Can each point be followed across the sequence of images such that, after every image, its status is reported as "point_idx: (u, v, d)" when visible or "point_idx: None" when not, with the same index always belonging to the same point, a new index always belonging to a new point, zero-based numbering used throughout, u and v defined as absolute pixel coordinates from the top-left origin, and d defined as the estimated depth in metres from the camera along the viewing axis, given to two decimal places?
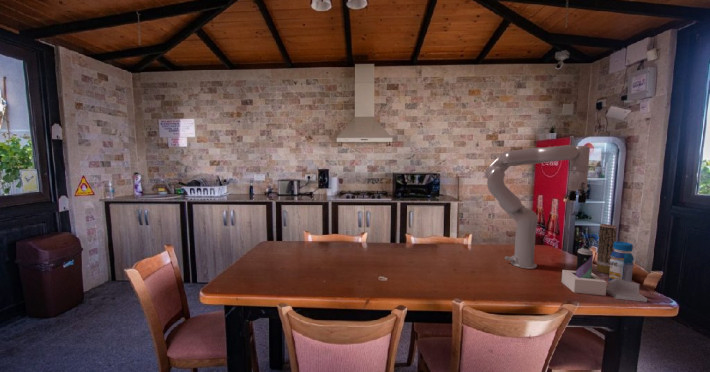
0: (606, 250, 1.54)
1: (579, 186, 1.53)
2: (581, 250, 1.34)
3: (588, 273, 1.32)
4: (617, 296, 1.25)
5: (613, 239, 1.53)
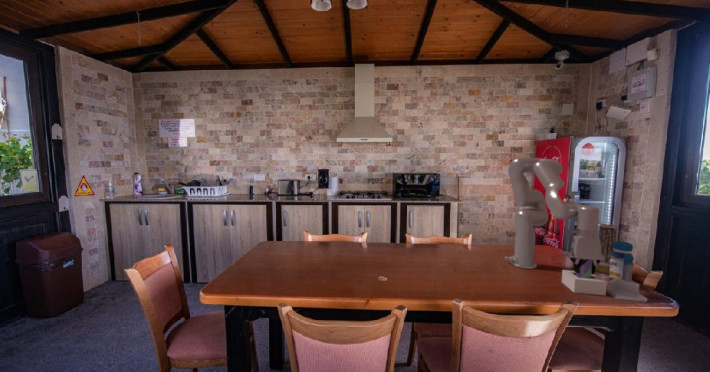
0: (606, 250, 1.54)
1: None
2: None
3: (588, 273, 1.32)
4: (617, 296, 1.25)
5: (613, 239, 1.53)
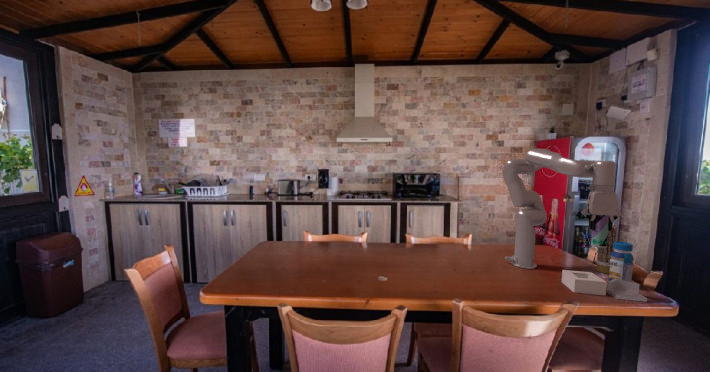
0: (606, 250, 1.54)
1: None
2: None
3: (604, 229, 1.29)
4: (617, 296, 1.25)
5: (613, 239, 1.53)
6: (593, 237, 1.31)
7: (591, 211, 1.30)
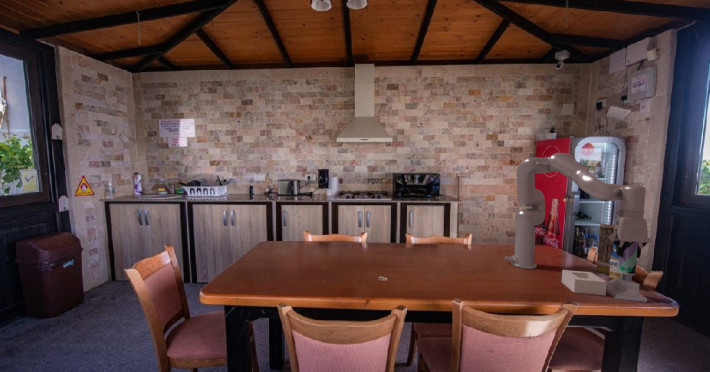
0: (606, 250, 1.54)
1: None
2: None
3: (633, 256, 1.25)
4: (617, 296, 1.25)
5: None
6: (621, 264, 1.27)
7: (619, 237, 1.26)
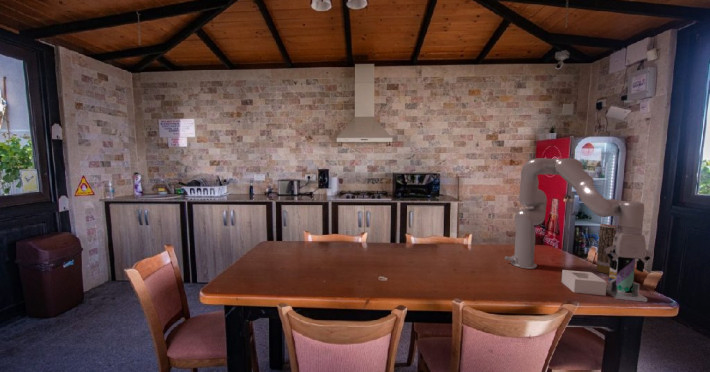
0: None
1: None
2: None
3: (630, 275, 1.25)
4: (617, 296, 1.25)
5: (613, 239, 1.53)
6: (618, 283, 1.28)
7: (618, 253, 1.26)
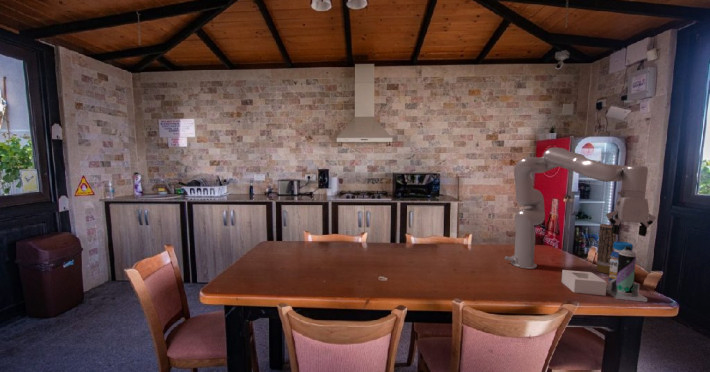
0: (606, 250, 1.54)
1: None
2: (623, 252, 1.27)
3: (631, 275, 1.25)
4: (617, 296, 1.25)
5: (613, 239, 1.53)
6: (618, 283, 1.28)
7: (620, 217, 1.25)
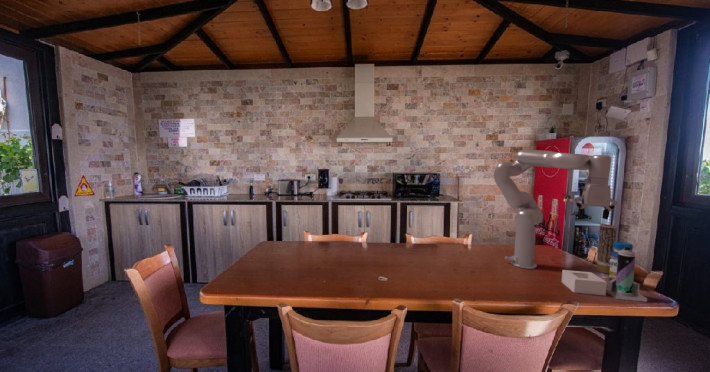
0: (606, 250, 1.54)
1: None
2: (623, 252, 1.27)
3: (630, 275, 1.25)
4: (617, 296, 1.25)
5: (613, 239, 1.53)
6: (618, 283, 1.28)
7: (585, 202, 1.38)
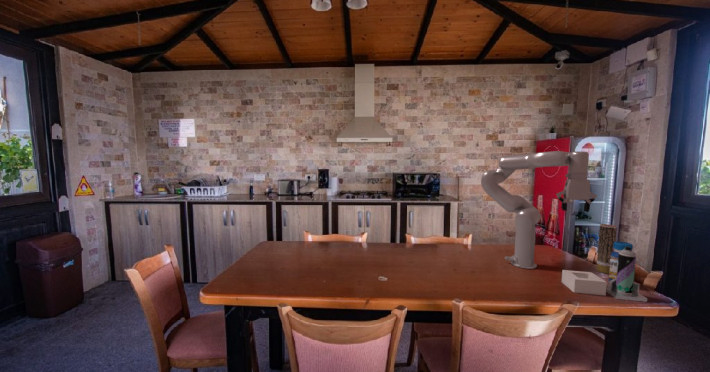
0: (606, 250, 1.54)
1: None
2: (623, 252, 1.27)
3: (631, 276, 1.25)
4: (617, 296, 1.25)
5: (613, 239, 1.53)
6: (618, 283, 1.28)
7: (567, 196, 1.47)
